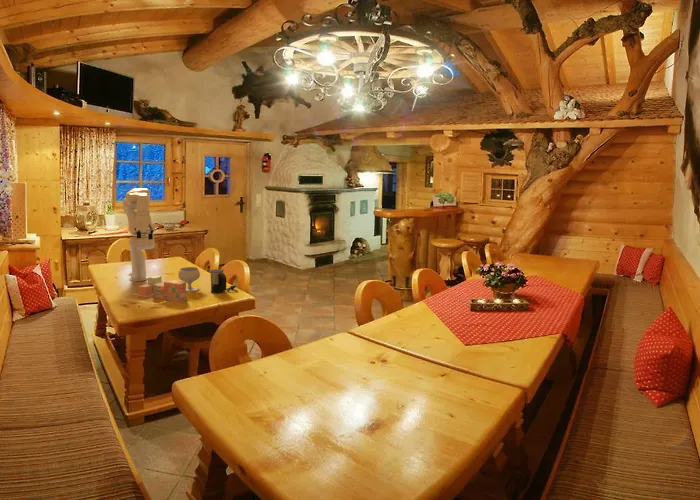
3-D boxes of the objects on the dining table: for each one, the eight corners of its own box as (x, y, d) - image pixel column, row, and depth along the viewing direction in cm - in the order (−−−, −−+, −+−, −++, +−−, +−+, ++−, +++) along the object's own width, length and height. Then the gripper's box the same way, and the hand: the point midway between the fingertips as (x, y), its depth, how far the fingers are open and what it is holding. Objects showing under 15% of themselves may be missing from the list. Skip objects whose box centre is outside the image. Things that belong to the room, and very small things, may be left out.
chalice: (189, 286, 348) (188, 265, 345) (204, 289, 341) (204, 268, 339) (174, 291, 335) (173, 269, 332) (190, 294, 329) (189, 272, 326)
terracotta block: (138, 295, 321) (137, 286, 320) (145, 292, 327) (144, 284, 325) (145, 296, 319) (145, 287, 318) (152, 293, 325) (151, 285, 324)
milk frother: (207, 292, 334) (206, 271, 331) (223, 287, 348) (222, 266, 345) (224, 295, 328) (223, 273, 325) (239, 289, 342) (238, 268, 339)
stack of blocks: (153, 299, 317) (152, 280, 315) (160, 296, 323) (158, 278, 320) (180, 302, 310) (179, 283, 307) (186, 300, 315) (186, 281, 313)
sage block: (148, 286, 329) (147, 277, 328) (154, 284, 334) (154, 275, 333) (155, 287, 327) (154, 278, 326) (161, 285, 332) (161, 276, 331)
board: (130, 295, 323) (130, 294, 322) (149, 289, 338) (148, 288, 338) (152, 298, 317) (152, 297, 316) (170, 292, 332) (170, 291, 332)
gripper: (128, 213, 325) (130, 238, 329) (149, 214, 319) (151, 240, 323) (137, 211, 332) (138, 236, 336) (157, 213, 326) (159, 239, 330)
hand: (144, 238), depth 329 cm, fingers open, 9 cm apart
